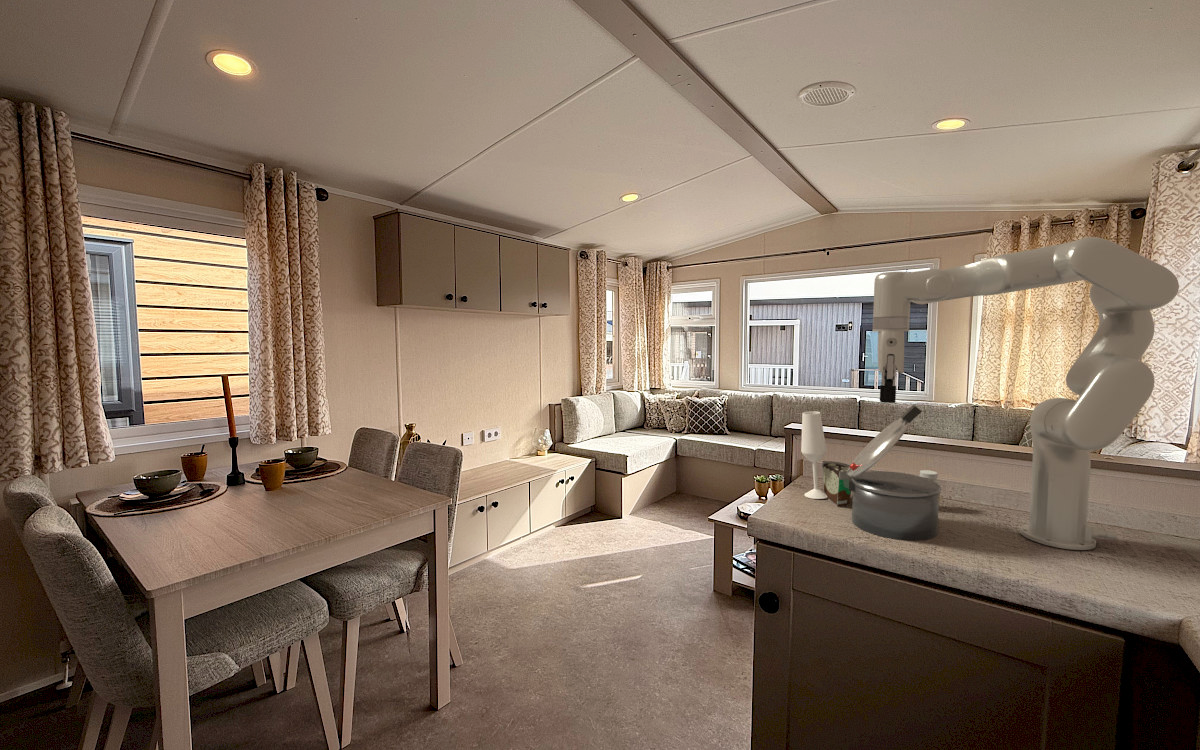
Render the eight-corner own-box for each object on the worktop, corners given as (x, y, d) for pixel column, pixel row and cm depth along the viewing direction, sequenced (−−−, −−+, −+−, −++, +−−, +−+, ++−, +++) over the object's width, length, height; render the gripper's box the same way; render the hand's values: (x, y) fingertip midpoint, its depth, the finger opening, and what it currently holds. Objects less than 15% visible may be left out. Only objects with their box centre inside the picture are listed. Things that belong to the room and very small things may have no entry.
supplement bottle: (926, 511, 132) (927, 475, 132) (910, 504, 138) (911, 470, 137) (944, 510, 133) (945, 474, 133) (928, 503, 139) (929, 468, 138)
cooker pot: (933, 518, 128) (934, 475, 127) (945, 546, 111) (947, 497, 110) (848, 508, 136) (849, 467, 135) (848, 532, 119) (849, 487, 119)
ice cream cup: (863, 508, 136) (863, 471, 135) (839, 508, 136) (840, 472, 135) (842, 494, 148) (843, 460, 147) (821, 494, 148) (821, 460, 147)
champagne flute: (825, 490, 149) (820, 410, 148) (832, 498, 143) (827, 413, 141) (801, 492, 150) (795, 411, 148) (807, 499, 144) (802, 415, 142)
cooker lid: (916, 405, 127) (908, 398, 128) (926, 416, 110) (916, 409, 111) (850, 466, 135) (843, 460, 136) (850, 486, 118) (841, 479, 119)
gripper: (912, 324, 112) (908, 407, 113) (906, 325, 125) (902, 399, 127) (873, 325, 115) (870, 405, 117) (871, 325, 129) (868, 397, 130)
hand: (887, 402), depth 122 cm, fingers closed
